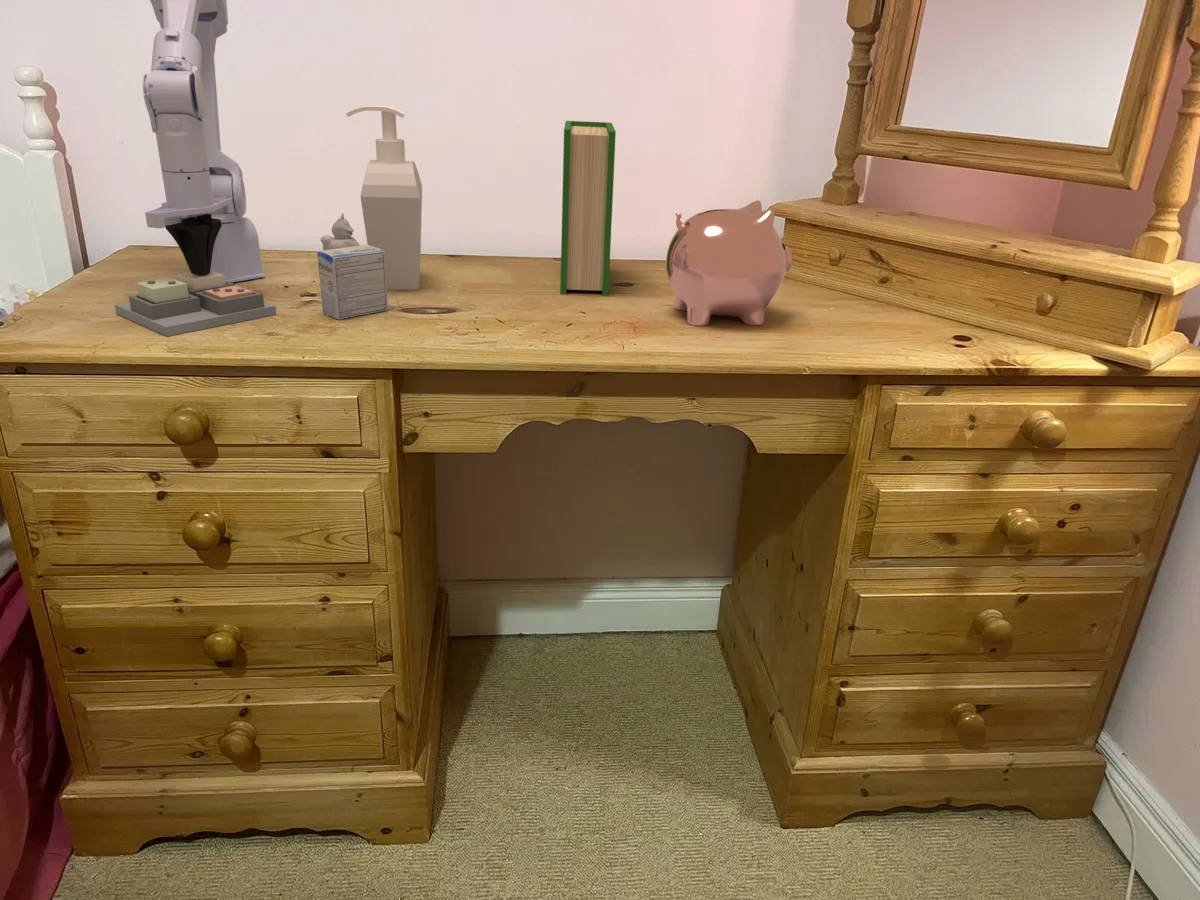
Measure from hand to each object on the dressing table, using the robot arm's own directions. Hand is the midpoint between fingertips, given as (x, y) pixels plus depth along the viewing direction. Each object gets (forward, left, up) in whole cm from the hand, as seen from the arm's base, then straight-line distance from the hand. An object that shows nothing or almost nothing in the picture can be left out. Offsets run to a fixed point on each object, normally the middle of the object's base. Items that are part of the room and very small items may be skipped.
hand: (200, 273), depth 120 cm
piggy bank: (-51, +52, -5) cm, 73 cm away
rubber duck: (-31, -13, -5) cm, 34 cm away
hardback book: (-51, +25, -5) cm, 57 cm away
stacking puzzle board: (+3, +3, -4) cm, 6 cm away
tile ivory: (0, 0, -2) cm, 2 cm away
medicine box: (-13, +16, -5) cm, 21 cm away
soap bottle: (-27, +6, -5) cm, 28 cm away
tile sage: (+7, +3, -1) cm, 8 cm away
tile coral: (0, +7, -3) cm, 7 cm away
